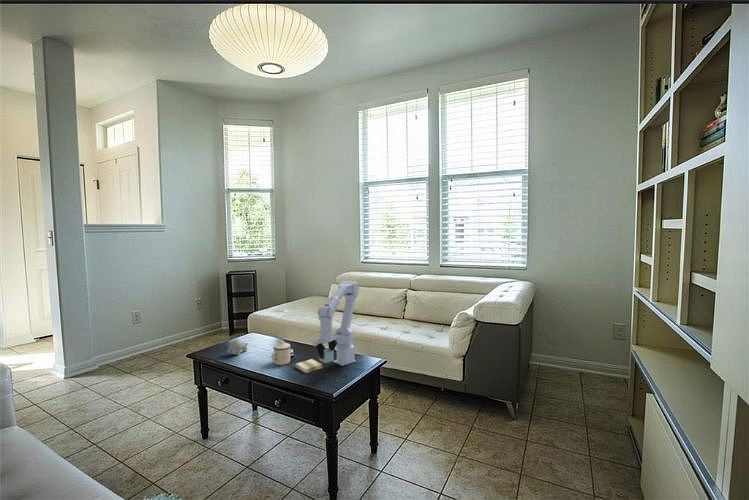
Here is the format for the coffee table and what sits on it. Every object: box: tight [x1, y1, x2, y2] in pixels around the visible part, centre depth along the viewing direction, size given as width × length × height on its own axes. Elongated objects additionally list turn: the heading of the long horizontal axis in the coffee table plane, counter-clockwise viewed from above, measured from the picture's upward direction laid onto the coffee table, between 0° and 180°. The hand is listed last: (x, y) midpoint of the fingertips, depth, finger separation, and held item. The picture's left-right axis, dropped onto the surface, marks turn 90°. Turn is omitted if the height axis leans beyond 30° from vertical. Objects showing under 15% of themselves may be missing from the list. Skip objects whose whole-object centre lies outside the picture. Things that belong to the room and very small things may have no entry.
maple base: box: [295, 358, 323, 374], centre depth 185 cm, size 10×10×2 cm
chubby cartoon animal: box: [226, 338, 249, 356], centre depth 205 cm, size 7×12×8 cm, turn 144°
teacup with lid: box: [271, 340, 292, 366], centre depth 191 cm, size 12×9×12 cm
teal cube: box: [318, 347, 335, 364], centre depth 176 cm, size 5×5×5 cm
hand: (326, 356), depth 176 cm, fingers closed on teal cube, 5 cm apart
